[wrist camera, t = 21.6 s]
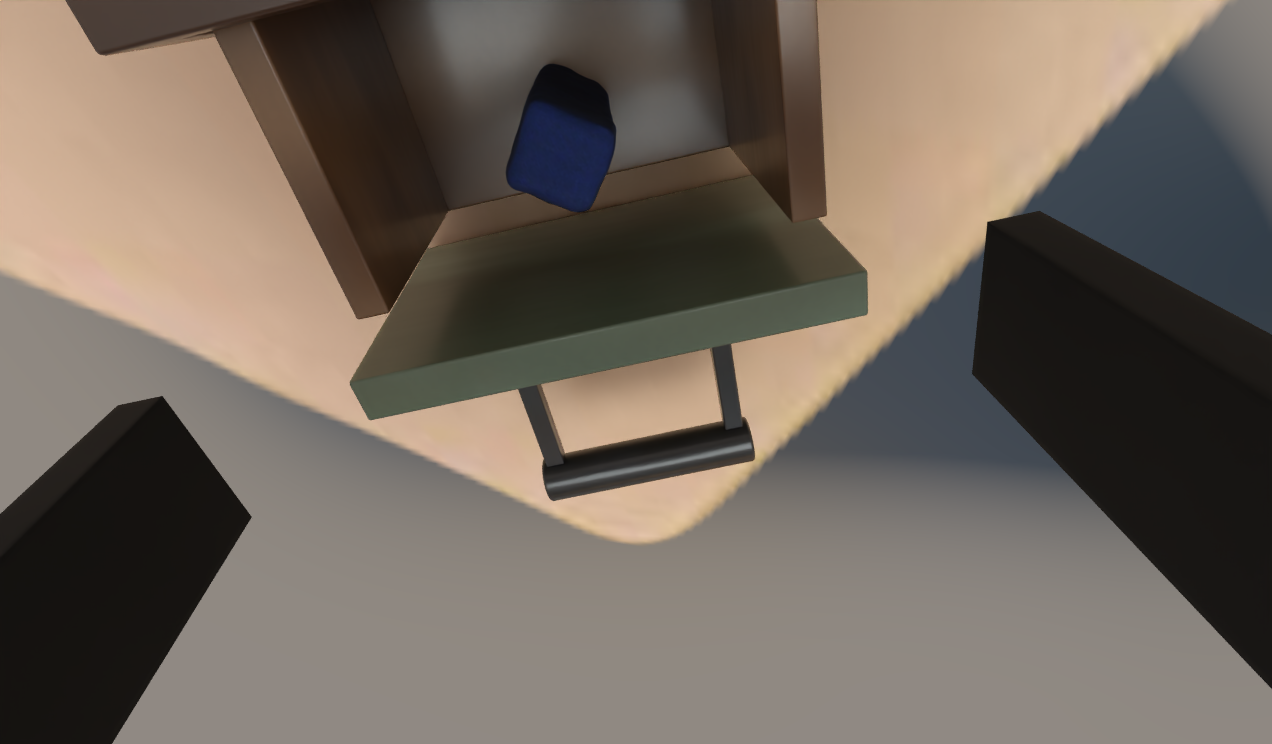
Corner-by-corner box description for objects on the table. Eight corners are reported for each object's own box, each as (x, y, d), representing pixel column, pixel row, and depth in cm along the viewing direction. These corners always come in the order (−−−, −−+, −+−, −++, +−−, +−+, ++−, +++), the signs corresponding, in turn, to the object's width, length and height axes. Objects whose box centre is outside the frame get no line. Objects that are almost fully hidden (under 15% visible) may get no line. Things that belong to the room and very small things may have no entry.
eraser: (545, 53, 19) (526, 91, 13) (614, 87, 19) (625, 137, 14) (521, 123, 20) (493, 187, 14) (587, 153, 20) (586, 226, 15)
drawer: (790, 356, 26) (871, 509, 19) (495, 417, 27) (460, 589, 19) (722, -392, 15) (856, -753, 8) (221, -253, 16) (-111, -458, 8)
